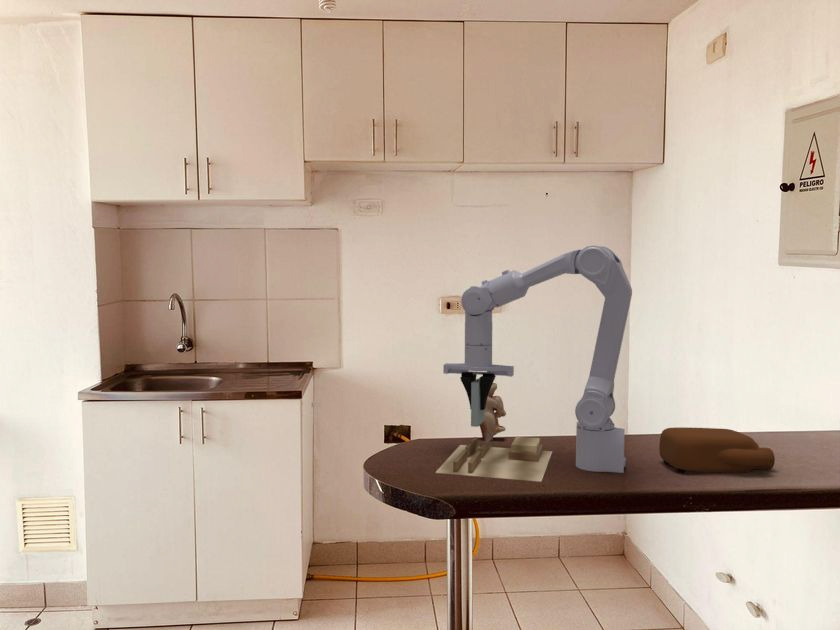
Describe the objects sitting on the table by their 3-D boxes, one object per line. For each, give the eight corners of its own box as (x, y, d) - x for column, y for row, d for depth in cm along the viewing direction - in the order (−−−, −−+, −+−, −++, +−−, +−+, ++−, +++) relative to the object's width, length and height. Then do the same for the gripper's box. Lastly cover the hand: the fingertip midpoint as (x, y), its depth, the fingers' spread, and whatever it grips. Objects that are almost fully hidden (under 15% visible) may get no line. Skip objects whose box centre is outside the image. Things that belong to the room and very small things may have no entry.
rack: (552, 456, 152) (552, 442, 151) (541, 486, 130) (541, 470, 130) (460, 449, 157) (460, 435, 157) (435, 477, 136) (435, 462, 136)
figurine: (504, 446, 159) (505, 379, 159) (470, 444, 161) (471, 378, 160) (506, 439, 166) (507, 375, 165) (474, 438, 167) (474, 374, 166)
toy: (740, 461, 152) (650, 458, 150) (743, 425, 152) (652, 422, 150) (781, 482, 137) (682, 479, 136) (784, 442, 137) (685, 439, 135)
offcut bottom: (542, 451, 151) (542, 444, 151) (538, 461, 143) (538, 454, 143) (514, 449, 153) (514, 442, 153) (508, 459, 145) (508, 452, 145)
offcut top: (539, 445, 151) (539, 438, 150) (536, 453, 144) (536, 446, 144) (516, 443, 152) (516, 436, 152) (511, 451, 145) (511, 444, 145)
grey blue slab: (484, 420, 153) (485, 378, 152) (478, 426, 146) (478, 383, 146) (477, 420, 153) (478, 378, 153) (470, 426, 146) (471, 382, 146)
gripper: (516, 343, 150) (515, 407, 151) (449, 341, 154) (448, 403, 155) (511, 347, 143) (510, 413, 144) (441, 344, 147) (440, 409, 148)
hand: (477, 409), depth 149 cm, fingers closed on grey blue slab, 1 cm apart
